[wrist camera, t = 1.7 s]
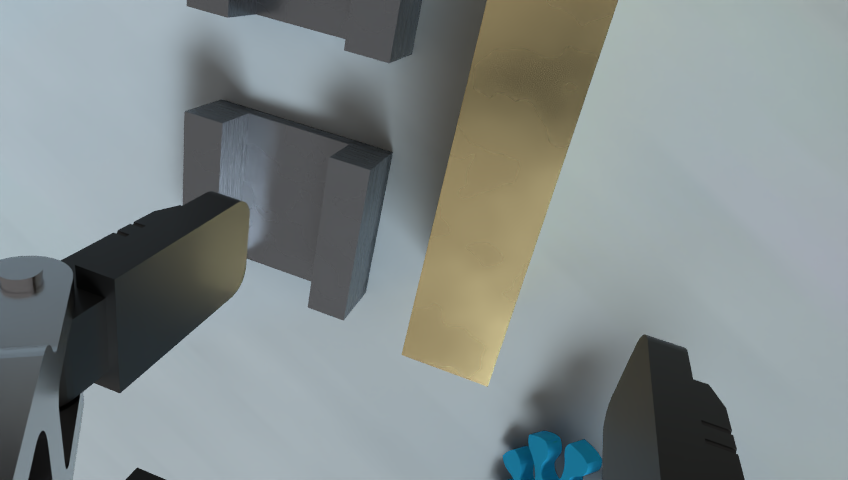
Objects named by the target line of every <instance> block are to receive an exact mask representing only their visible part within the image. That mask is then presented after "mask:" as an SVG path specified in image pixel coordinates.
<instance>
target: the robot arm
mask: <svg viewBox="0 0 848 480" xmlns="http://www.w3.org/2000/svg"><path fill="white" fill-rule="evenodd" d="M249 219H250V210H249V206H248V204H247V203H246V202H244V201H241V200H238V199H235V198H232V197H229V196H226V195H223V194H220V193H217V192H213V191H209V192H207V193H205V194H203V195H201V196H199V197H197V198H196V199H194V200H192V201H190V202H188V203H186V204H185V205H183V206H181V205H179V206H175V207H171V208H166V209H162V210H158V211H154V212H152V213H150V214H148V215H146V216H144V217H142V218H140V219H139V220H137V221H135V222H134V224H133V225H132V224H129V225H127V226H125V227H123V228H122V229H120V230H118V232H117V234H116V233H112V234H110V235H108V236H106V237H104V238H103V239H101V240H99V241H97V242H95V243H93V244H91V245H89V246H87V247H86V248H84V249H82V250H80V251H78V252H76V253H74V254H72V255H70V256H68V257H67V258H65V259H63V260H61V261H60V260H57V259H54V258H49V257H43V256H18V257H10V258H5V259H1V260H0V480H73V474H74V468H75V461H76V454H77V448H78V441H79V434H80V428H81V421H82V414H83V408H84V396H83V391H84V390H86V389H87V388H88V387H89V386H91V385H92V384H93V383H96V384H98V385H101V386H103V387H106V388H108V389H110V390H113V391H115V392H118V393H121V392H122V391H123V390H124V389H125V388H127V387H128V386H129V385H130V384H131V383H132V382H134V381H135V380H136V379H137V378H138V377H139V376H141V375H142V374H143V373H144V372H145V371H146V370H148V369H149V368H150V367H151V366H152V365H153V364H155V363H156V362H157V361H158V360H159V359H160V358H162V357H163V356H164V355H165V354H166V353H167V352H168V351H170V350H171V349H172V348H173V347H174V346H175V345H177V344H178V343H179V342H180V341H181V340H182V339H184V338H185V337H186V336H187V335H188V334H189V333H191V332H192V331H193V330H194V329H195V328H196V327H198V326H199V325H200V324H201V323H202V322H203V321H204V320H206V319H207V318H208V317H209V316H210V315H211V314H213V313H214V312H215V311H216V310H217V309H218V308H220V307H221V306H222V305H223V304H224V303H225V302H227V301H228V300H229V299H230V298H231V297H232V296H233V295H234V294H235V293H236V292H237V290H238V289H239V287H240V285H241V283H242V280H243V278H244V274H245V270H246V259H247V246H248V232H249ZM731 432H732V429H731V425H730V421H729V418H728V414H727V410H726V407H725V406H724V405H723V403H722V402H721V401H720V399H719V398H718V396H717V395H716V394H715V392H714V391H713V390H712V388H711V387H710V386H709V385H708V384H705V383H702V382H699V381H696V380H693V377H692V371H691V366H690V361H689V356H688V352H687V349H686V348H684V347H681V346H678V345H675V344H672V343H669V342H666V341H663V340H660V339H657V338H654V337H651V336H648V335H643V336H642V337H641V338H640V339H639V341H638V342H637V344H636V346H635V348H634V351H633V353H632V355H631V357H630V359H629V361H628V363H627V366H626V368H625V370H624V372H623V374H622V376H621V378H620V381H619V383H618V385H617V387H616V389H615V391H614V393H613V395H612V398H611V400H610V403H609V406H608V409H607V412H606V416H605V421H604V428H603V468H602V480H745V479H744V475H743V471H742V468H741V464H740V460H739V456H738V454H736V450H737V448H736V445H735V441H734V437H733V435H731ZM126 480H165V479H163V478H161V477H158V476H156V475H153V474H151V473H149V472H146V471H144V470H142V469H139V468H136V469H135V470H134V471H133V472H132V474H131V475H130V476H129V477H128V478H127V479H126Z"/></svg>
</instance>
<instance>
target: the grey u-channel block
mask: <svg viewBox="0 0 848 480" xmlns="http://www.w3.org/2000/svg"><path fill="white" fill-rule="evenodd" d="M421 4H422V0H187V6H189V7H192V8H196V9H199V10H203V11H206V12H210V13H214V14H217V15H221V16H224V17H236V16H245V15H253V14H257V15H261V16H264V17H268V18H271V19H275V20H279V21H282V22H286V23H289V24H293V25H297V26H300V27H304V28H307V29H311V30H315V31H318V32H322V33H325V34H329V35H333V36H336V37H340V38H343V39H346V41H345V48H344V50H345V51H348V52H352V53H356V54H359V55H363V56H366V57H370V58H373V59H377V60H380V61H384V62H388V63H391V62H393V61H396V60H398V59H401V58H403V57H406V56H408V55H411V54H412V50H413V45H414V40H415V35H416V30H417V25H418V19H419V14H420V9H421ZM392 154H393V152H390V151H386V150H383V149H380V148H377V147H373V146H370V145H367V144H364V143H361V142H357V141H354V140H351V139H348V138H344V137H341V136H338V135H335V134H331V133H328V132H325V131H322V130H318V129H315V128H312V127H309V126H305V125H302V124H299V123H296V122H293V121H289V120H286V119H283V118H280V117H276V116H273V115H270V114H267V113H263V112H260V111H257V110H254V109H250V108H247V107H244V106H241V105H237V104H234V103H231V102H228V101H225V100H219V101H216V102H213V103H210V104H206V105H203V106H200V107H197V108H194V109H191V110H188V111H185V121H184V172H183V205H185V204H186V203H188V202H190V201H192V200H194V199H196V198H197V197H199V196H201V195H203V194H205V193H207V192H209V191H213V192H217V193H220V194H223V195H226V196H229V197H232V198H235V199H238V200H241V201H244V202H246V203H247V204H248V206H249V210H250V219H249V232H248V246H247V259H250V260H253V261H256V262H258V263H261V264H264V265H267V266H270V267H272V268H275V269H278V270H281V271H284V272H286V273H289V274H292V275H295V276H298V277H300V278H303V279H306V280H309V281H311V288H310V295H309V303H308V308H311V309H314V310H317V311H319V312H322V313H325V314H328V315H330V316H333V317H336V318H338V319H341V320H344V319H345V318H346V317H347V316H348V314H349V313H350V312H351V310H352V309H353V308H354V307H355V305H356V304H357V303H358V302H359V300H360V299H361V298H362V297H363V295H364V294H365V293H366V288H367V283H368V277H369V272H370V267H371V262H372V257H373V252H374V246H375V241H376V236H377V231H378V226H379V221H380V215H381V210H382V205H383V200H384V195H385V190H386V184H387V179H388V174H389V169H390V164H391V159H392Z"/></svg>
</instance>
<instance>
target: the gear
mask: <svg viewBox="0 0 848 480" xmlns="http://www.w3.org/2000/svg"><path fill="white" fill-rule="evenodd" d="M528 444H529V446H524V447H520V448H517V449H513V450H510V451H508V452H506V453H505V454H504V455H503V460H504V464H505V466H506V468H507V470H508V471H509V473H510V474H511V476H512V477H513V479H512V478H511V479H508V480H583V476H584V475H587V474H590V473H593V472H596V471H598V470H599V469H600V468H601V466H602V458H601V456H600V455H599V453H598V452H597V451H596V450H595V449H594V448H593V446H592V445H591V444H589V443H588V442H587V441H586V440H585V439H583V440H580V441H577V442H573V443H570V444H568V445H567V446H566V448H565V453H564V456H565V465H564V471H563V474H562V477H561V478H559V477H558V476H557V474H556V471H555V461H556V459H557V458H558V457H559V455H560V454H561V451H562V442H561V439H560V437H559V436H558V435H556V434H554V433H552V432H548V431H541V432H537V433H533V434H530V435H529V438H528ZM534 467H535V479H534V476H533V468H534Z"/></svg>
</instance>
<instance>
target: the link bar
mask: <svg viewBox="0 0 848 480" xmlns="http://www.w3.org/2000/svg"><path fill="white" fill-rule="evenodd" d="M617 2H618V0H487V2H486V7H485V11H484V15H483V19H482V23H481V27H480V31H479V36H478V40H477V44H476V48H475V52H474V56H473V61H472V65H471V69H470V73H469V77H468V81H467V85H466V90H465V94H464V98H463V102H462V106H461V110H460V114H459V119H458V123H457V127H456V131H455V135H454V139H453V144H452V148H451V152H450V156H449V160H448V164H447V168H446V173H445V177H444V181H443V185H442V189H441V193H440V198H439V202H438V206H437V210H436V214H435V218H434V222H433V227H432V231H431V235H430V239H429V243H428V247H427V252H426V256H425V260H424V264H423V268H422V272H421V276H420V281H419V285H418V289H417V293H416V297H415V301H414V306H413V310H412V314H411V318H410V322H409V326H408V330H407V335H406V339H405V343H404V347H403V351H402V355H404V356H406V357H409V358H412V359H414V360H417V361H420V362H423V363H425V364H428V365H431V366H433V367H436V368H439V369H441V370H444V371H447V372H450V373H452V374H455V375H458V376H460V377H463V378H466V379H469V380H471V381H474V382H477V383H479V384H482V385H485V386H487V387H488V384H489V381H490V378H491V375H492V372H493V369H494V366H495V363H496V360H497V357H498V354H499V352H500V349H501V346H502V343H503V340H504V337H505V334H506V331H507V328H508V325H509V322H510V319H511V316H512V313H513V310H514V307H515V304H516V301H517V298H518V295H519V292H520V289H521V286H522V283H523V280H524V278H525V275H526V272H527V269H528V266H529V263H530V260H531V257H532V254H533V251H534V248H535V245H536V242H537V239H538V236H539V233H540V230H541V227H542V224H543V221H544V218H545V215H546V212H547V209H548V207H549V204H550V201H551V198H552V195H553V192H554V189H555V186H556V183H557V180H558V177H559V174H560V171H561V168H562V165H563V162H564V159H565V156H566V153H567V150H568V147H569V144H570V141H571V138H572V135H573V133H574V130H575V127H576V124H577V121H578V118H579V115H580V112H581V109H582V106H583V103H584V100H585V97H586V94H587V91H588V88H589V85H590V82H591V79H592V76H593V73H594V70H595V67H596V64H597V62H598V59H599V56H600V53H601V50H602V47H603V44H604V41H605V38H606V35H607V32H608V29H609V26H610V23H611V20H612V17H613V14H614V11H615V8H616V5H617Z"/></svg>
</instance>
